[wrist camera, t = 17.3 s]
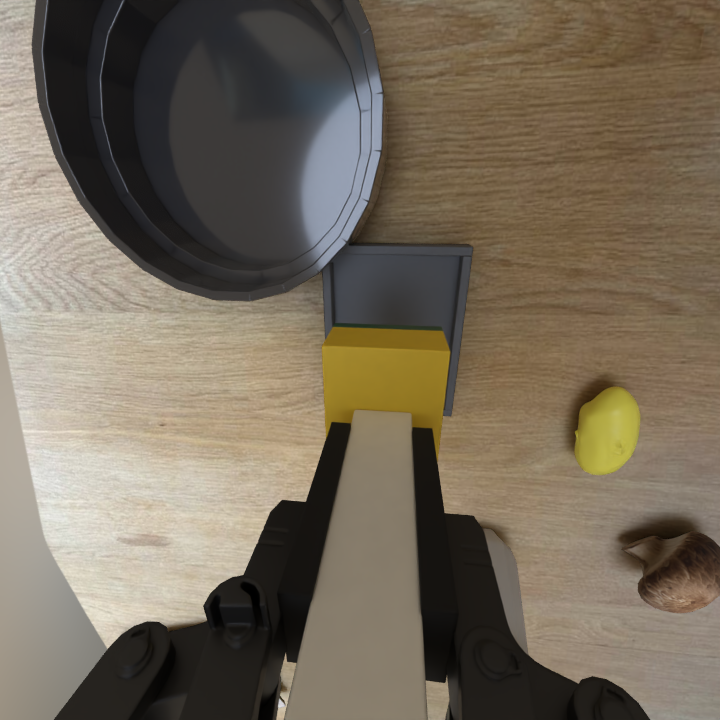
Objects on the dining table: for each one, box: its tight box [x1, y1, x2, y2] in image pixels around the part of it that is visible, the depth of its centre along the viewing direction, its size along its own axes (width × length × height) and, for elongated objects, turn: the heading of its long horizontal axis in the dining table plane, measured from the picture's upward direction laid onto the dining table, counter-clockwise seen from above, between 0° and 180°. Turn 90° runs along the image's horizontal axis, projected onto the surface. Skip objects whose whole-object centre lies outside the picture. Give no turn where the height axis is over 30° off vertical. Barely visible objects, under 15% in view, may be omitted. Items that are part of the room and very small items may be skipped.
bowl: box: [32, 0, 388, 301], centre depth 20 cm, size 18×18×6 cm
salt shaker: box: [482, 528, 528, 655], centre depth 30 cm, size 6×6×13 cm
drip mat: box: [322, 243, 473, 416], centre depth 26 cm, size 13×10×2 cm
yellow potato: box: [574, 387, 640, 475], centre depth 27 cm, size 4×8×4 cm, turn 178°
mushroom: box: [622, 531, 720, 613], centre depth 31 cm, size 8×8×6 cm
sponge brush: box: [284, 323, 450, 720], centre depth 12 cm, size 8×5×13 cm, turn 0°
